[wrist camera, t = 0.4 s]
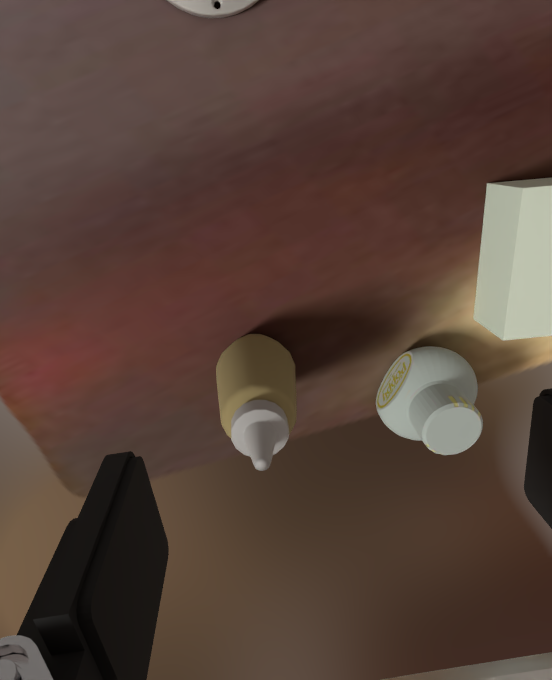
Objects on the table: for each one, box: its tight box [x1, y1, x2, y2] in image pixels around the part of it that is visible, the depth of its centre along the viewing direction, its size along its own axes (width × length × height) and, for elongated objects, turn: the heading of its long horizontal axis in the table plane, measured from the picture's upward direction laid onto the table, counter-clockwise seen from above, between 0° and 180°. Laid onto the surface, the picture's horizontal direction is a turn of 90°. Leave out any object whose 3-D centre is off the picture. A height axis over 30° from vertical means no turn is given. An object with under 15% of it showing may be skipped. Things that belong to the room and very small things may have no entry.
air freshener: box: [376, 346, 483, 455], centre depth 47 cm, size 11×8×10 cm
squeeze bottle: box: [216, 334, 297, 471], centre depth 41 cm, size 8×8×18 cm
